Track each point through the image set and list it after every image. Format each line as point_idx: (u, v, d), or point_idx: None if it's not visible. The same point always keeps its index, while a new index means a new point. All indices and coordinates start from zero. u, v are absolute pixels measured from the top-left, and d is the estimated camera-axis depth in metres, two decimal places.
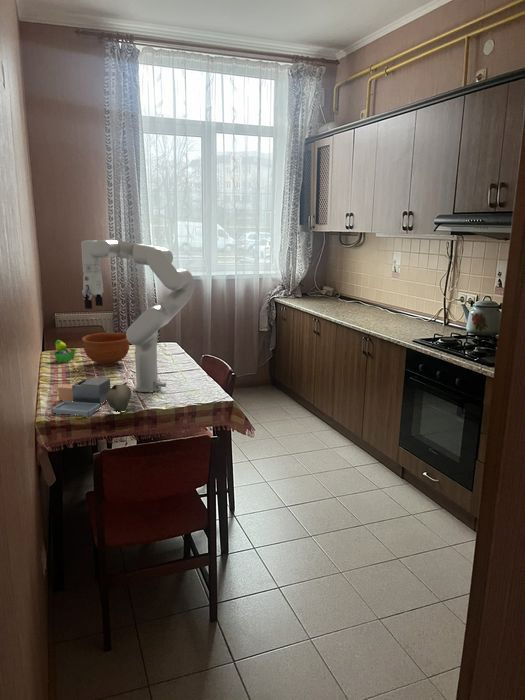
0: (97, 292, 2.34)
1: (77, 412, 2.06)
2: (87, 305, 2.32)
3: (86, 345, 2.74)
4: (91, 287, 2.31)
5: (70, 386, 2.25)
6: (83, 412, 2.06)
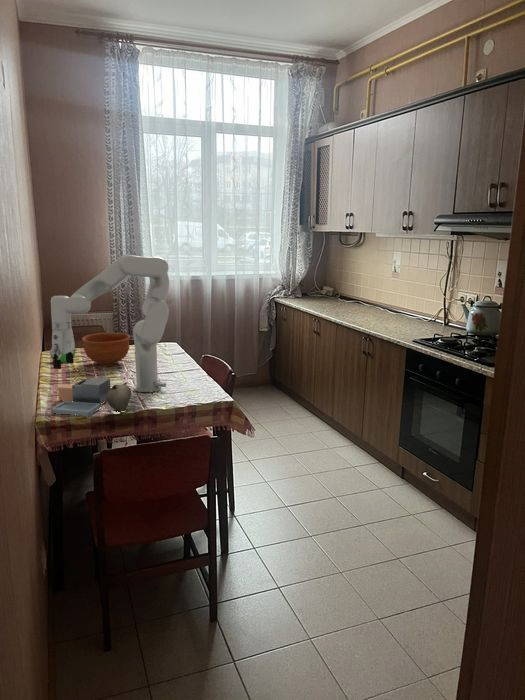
0: (67, 351, 2.20)
1: (77, 412, 2.06)
2: (56, 365, 2.17)
3: (86, 345, 2.74)
4: (60, 346, 2.16)
5: (70, 386, 2.25)
6: (83, 412, 2.06)
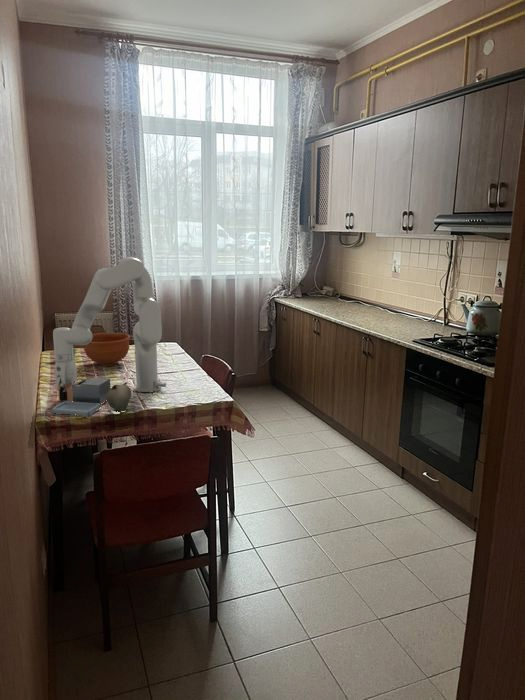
0: (70, 382, 2.23)
1: (77, 412, 2.06)
2: (62, 397, 2.22)
3: (86, 345, 2.74)
4: (63, 378, 2.19)
5: (70, 386, 2.25)
6: (83, 412, 2.06)
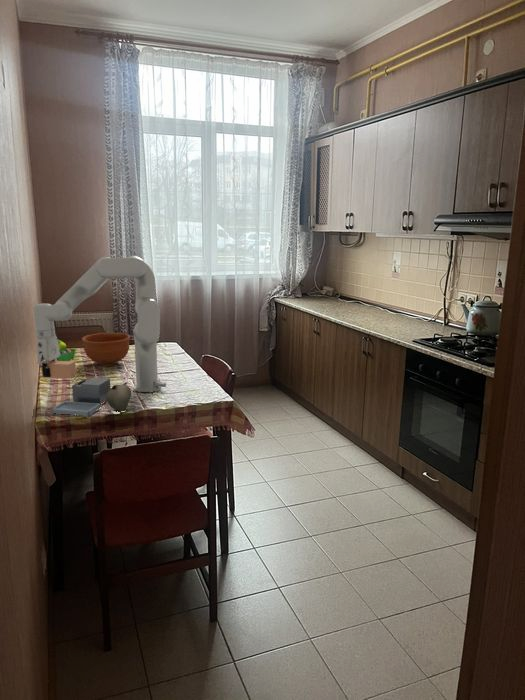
0: (52, 358, 2.22)
1: (77, 412, 2.06)
2: (45, 374, 2.22)
3: (86, 345, 2.74)
4: (45, 354, 2.18)
5: (53, 362, 2.24)
6: (83, 412, 2.06)
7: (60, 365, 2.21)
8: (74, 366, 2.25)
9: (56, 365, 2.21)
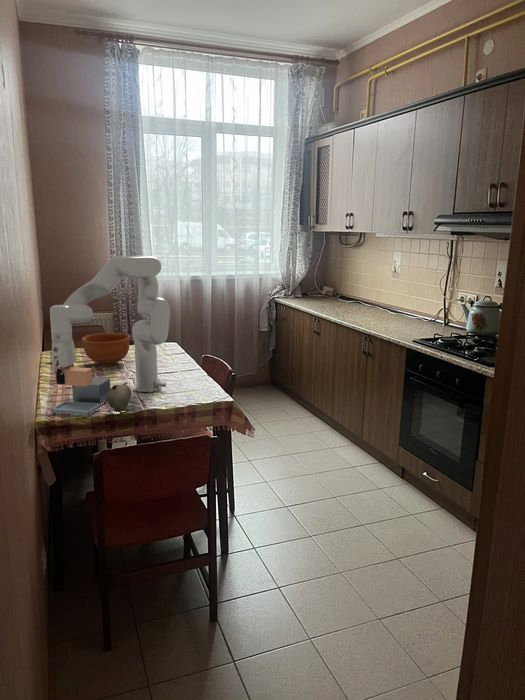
0: (68, 364, 2.06)
1: (77, 412, 2.06)
2: (59, 380, 2.06)
3: (86, 345, 2.74)
4: (61, 359, 2.03)
5: (68, 368, 2.08)
6: (83, 412, 2.06)
7: (76, 372, 2.05)
8: (90, 373, 2.09)
9: (71, 372, 2.06)
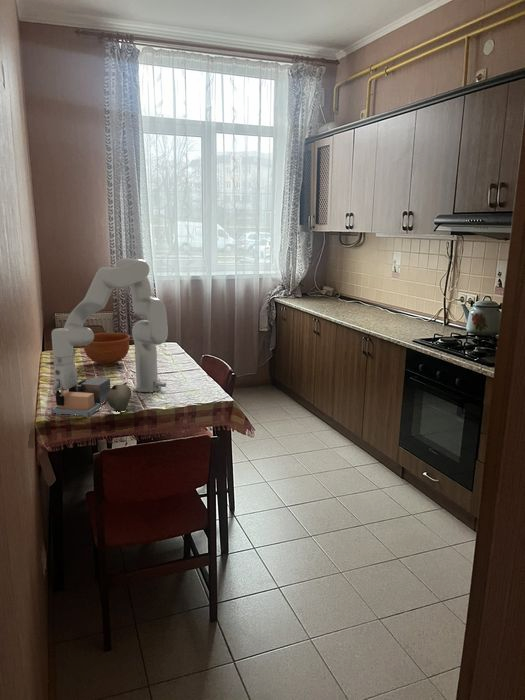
0: (70, 386, 2.08)
1: (77, 412, 2.06)
2: (58, 402, 2.06)
3: (86, 345, 2.74)
4: (63, 382, 2.05)
5: (70, 393, 2.11)
6: (83, 412, 2.06)
7: (78, 397, 2.08)
8: (92, 398, 2.11)
9: (74, 397, 2.08)
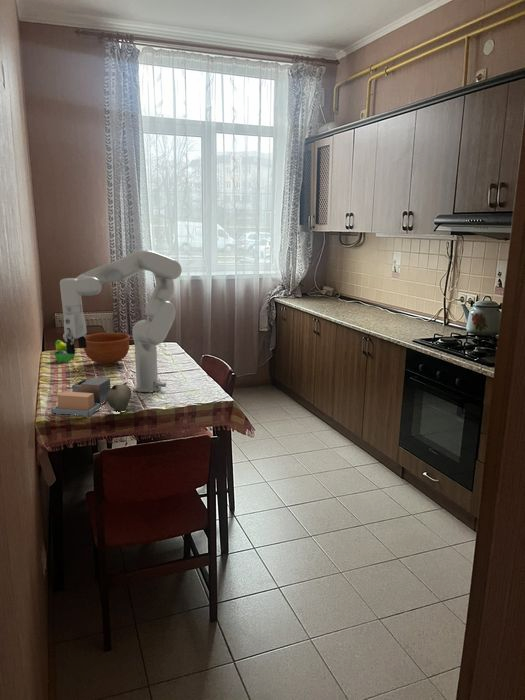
0: (80, 335, 2.13)
1: (77, 412, 2.06)
2: (69, 350, 2.11)
3: None
4: (73, 330, 2.10)
5: (70, 393, 2.11)
6: (83, 412, 2.06)
7: (78, 397, 2.08)
8: (92, 398, 2.11)
9: (74, 397, 2.08)
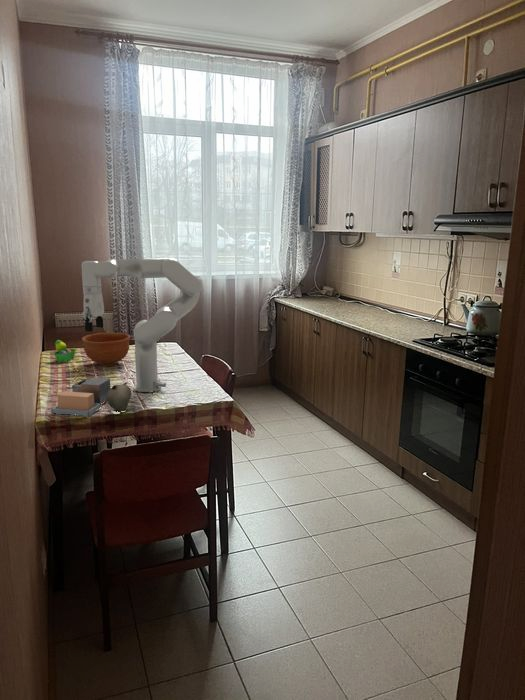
0: (98, 314, 2.28)
1: (77, 412, 2.06)
2: (87, 328, 2.25)
3: (86, 345, 2.74)
4: (92, 309, 2.24)
5: (70, 393, 2.11)
6: (83, 412, 2.06)
7: (78, 397, 2.08)
8: (92, 398, 2.11)
9: (74, 397, 2.08)
